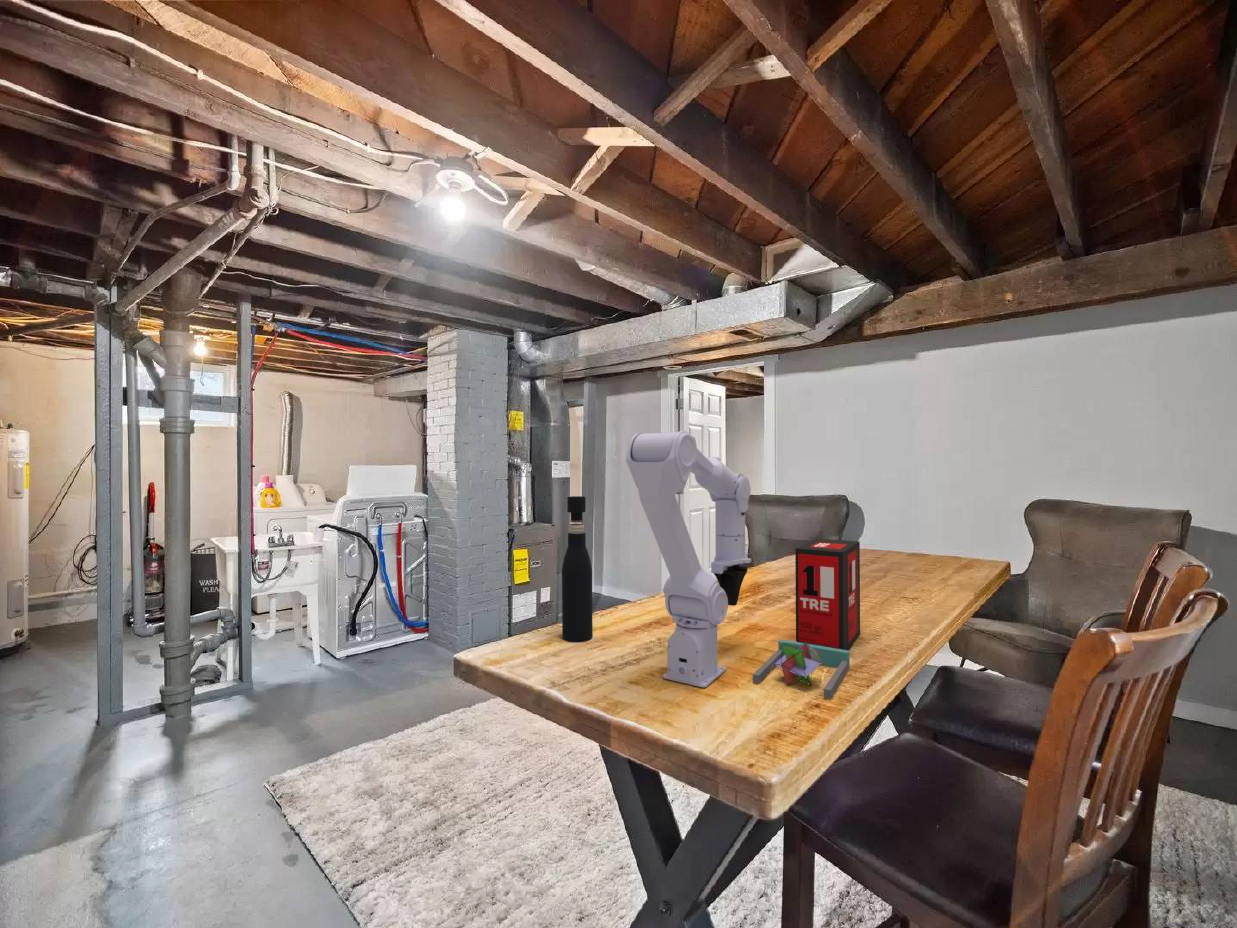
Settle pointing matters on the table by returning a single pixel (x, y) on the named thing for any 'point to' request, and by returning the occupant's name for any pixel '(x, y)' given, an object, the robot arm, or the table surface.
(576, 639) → the black water bottle
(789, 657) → the geometric puzzle
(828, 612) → the cleaning product box
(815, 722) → the table surface
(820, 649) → the u-shaped frame
